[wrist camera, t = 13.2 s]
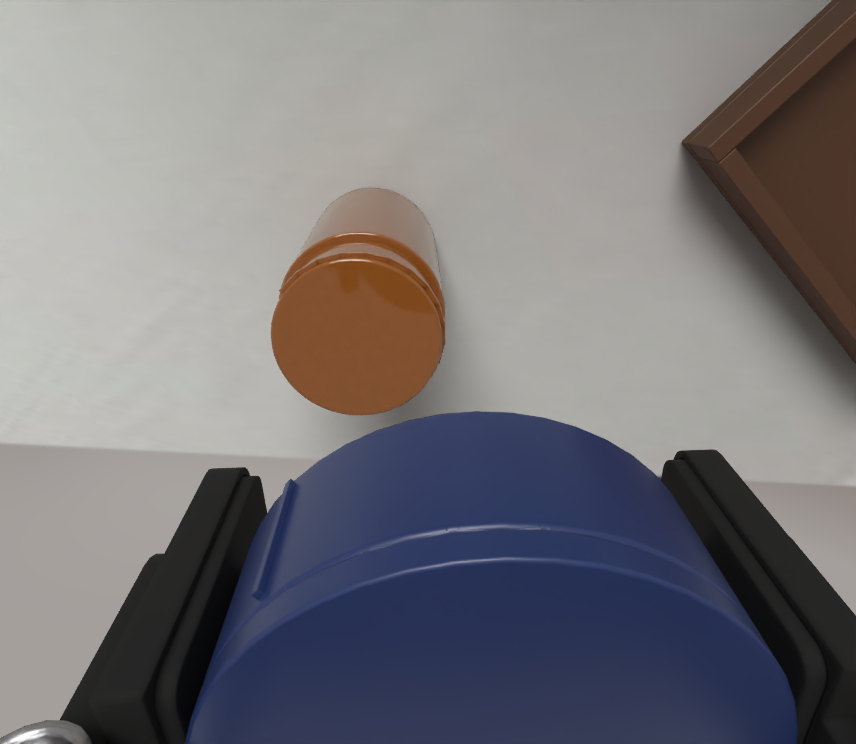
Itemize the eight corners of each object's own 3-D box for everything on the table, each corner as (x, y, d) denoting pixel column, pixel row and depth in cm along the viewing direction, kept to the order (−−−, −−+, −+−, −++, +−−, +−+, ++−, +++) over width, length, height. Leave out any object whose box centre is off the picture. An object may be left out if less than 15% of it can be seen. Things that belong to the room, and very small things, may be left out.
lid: (147, 608, 8) (52, 800, 6) (474, 299, 7) (507, 413, 4) (464, 789, 11) (479, 981, 8) (781, 594, 9) (912, 776, 6)
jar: (460, 248, 27) (487, 338, 18) (379, 329, 28) (365, 451, 19) (369, 159, 25) (346, 209, 16) (288, 252, 26) (225, 346, 17)
